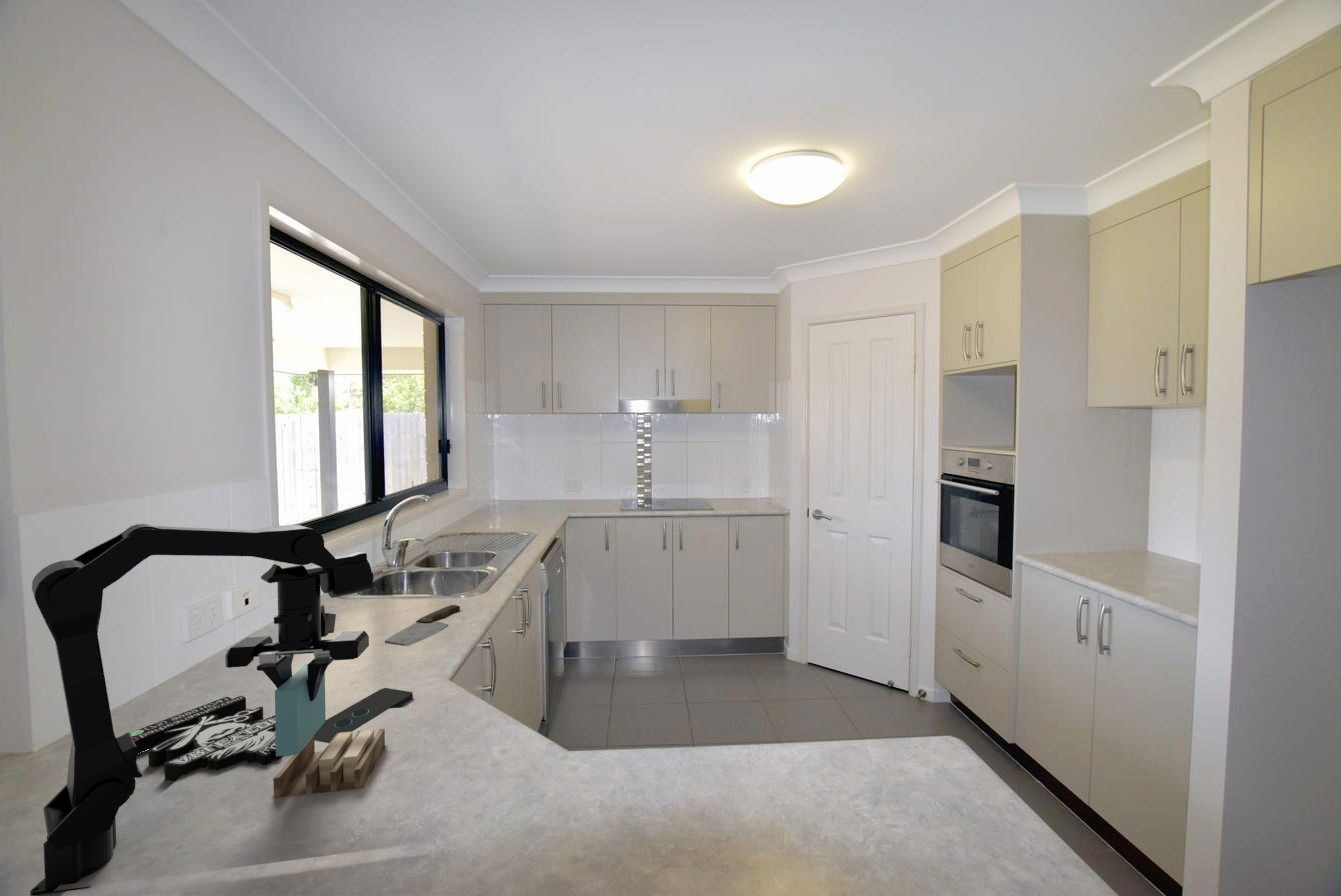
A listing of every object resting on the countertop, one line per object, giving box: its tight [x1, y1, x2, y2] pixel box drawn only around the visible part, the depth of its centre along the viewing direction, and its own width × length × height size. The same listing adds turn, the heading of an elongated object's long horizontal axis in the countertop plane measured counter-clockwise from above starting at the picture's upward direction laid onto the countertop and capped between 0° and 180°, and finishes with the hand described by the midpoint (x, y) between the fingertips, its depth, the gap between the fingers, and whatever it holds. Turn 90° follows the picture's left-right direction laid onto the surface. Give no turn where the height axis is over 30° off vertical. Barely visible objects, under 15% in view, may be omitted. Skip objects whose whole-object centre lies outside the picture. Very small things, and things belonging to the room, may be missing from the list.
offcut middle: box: [319, 731, 353, 785], centre depth 92 cm, size 8×2×4 cm, turn 11°
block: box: [274, 663, 327, 757], centre depth 90 cm, size 10×3×10 cm, turn 10°
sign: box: [129, 695, 283, 782], centre depth 100 cm, size 19×3×30 cm
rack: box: [271, 728, 388, 799], centre depth 92 cm, size 12×13×4 cm
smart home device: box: [314, 687, 414, 744], centre depth 110 cm, size 8×2×20 cm
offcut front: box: [343, 729, 375, 782], centre depth 92 cm, size 8×2×4 cm, turn 11°
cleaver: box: [384, 604, 461, 647], centre depth 162 cm, size 29×10×2 cm, turn 169°
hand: (301, 700), depth 90 cm, fingers closed on block, 3 cm apart
